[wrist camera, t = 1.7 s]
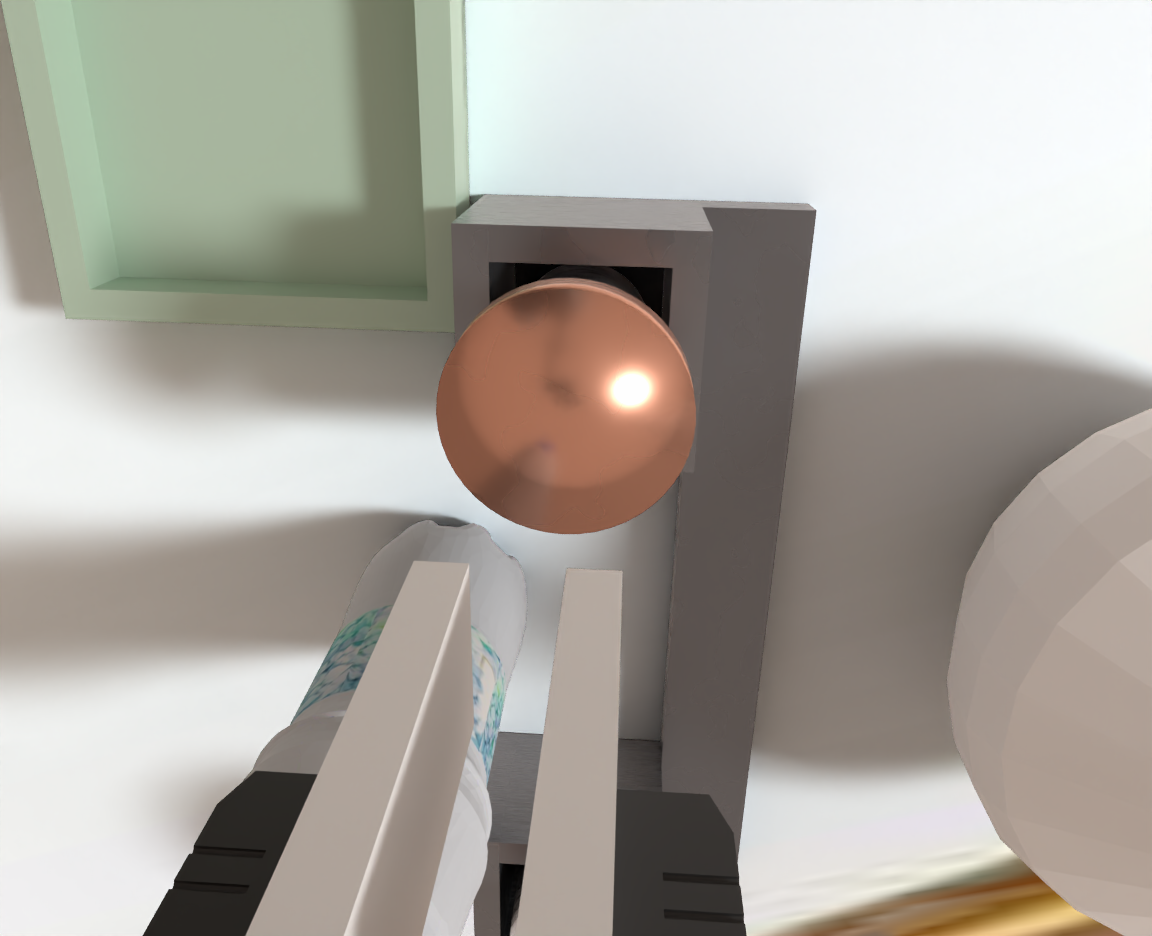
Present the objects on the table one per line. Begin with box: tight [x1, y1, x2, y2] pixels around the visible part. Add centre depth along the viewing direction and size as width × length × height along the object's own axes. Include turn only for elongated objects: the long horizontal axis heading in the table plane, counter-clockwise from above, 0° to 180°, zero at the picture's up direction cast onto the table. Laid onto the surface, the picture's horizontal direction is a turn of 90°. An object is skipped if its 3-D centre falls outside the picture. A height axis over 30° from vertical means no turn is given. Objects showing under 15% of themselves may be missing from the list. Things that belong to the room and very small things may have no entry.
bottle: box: [244, 520, 527, 936], centre depth 27 cm, size 7×7×20 cm
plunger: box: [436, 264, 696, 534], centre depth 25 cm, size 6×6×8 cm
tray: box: [1, 0, 470, 333], centre depth 29 cm, size 13×13×2 cm
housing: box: [451, 194, 816, 936], centre depth 33 cm, size 29×10×6 cm, turn 179°
